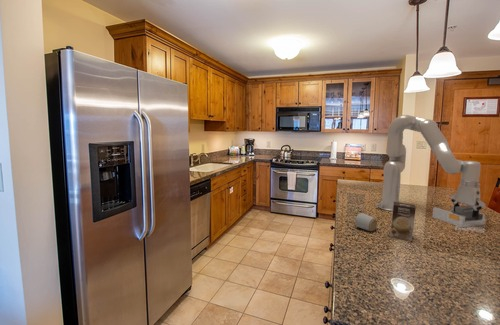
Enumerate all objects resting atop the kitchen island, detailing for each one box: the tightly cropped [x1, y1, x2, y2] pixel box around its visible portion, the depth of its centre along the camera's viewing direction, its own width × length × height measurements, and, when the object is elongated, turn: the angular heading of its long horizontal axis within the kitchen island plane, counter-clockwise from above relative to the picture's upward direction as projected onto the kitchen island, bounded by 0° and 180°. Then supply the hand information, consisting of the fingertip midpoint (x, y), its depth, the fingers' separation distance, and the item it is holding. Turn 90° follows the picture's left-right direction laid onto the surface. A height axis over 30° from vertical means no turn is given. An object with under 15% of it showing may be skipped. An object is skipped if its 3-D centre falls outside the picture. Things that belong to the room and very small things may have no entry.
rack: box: [432, 204, 486, 228], centre depth 146 cm, size 16×16×6 cm
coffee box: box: [389, 201, 417, 242], centre depth 123 cm, size 9×6×16 cm
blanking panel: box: [455, 205, 475, 220], centre depth 143 cm, size 10×4×8 cm, turn 106°
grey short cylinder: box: [354, 212, 378, 232], centre depth 133 cm, size 11×8×8 cm
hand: (465, 214), depth 143 cm, fingers open, 9 cm apart
